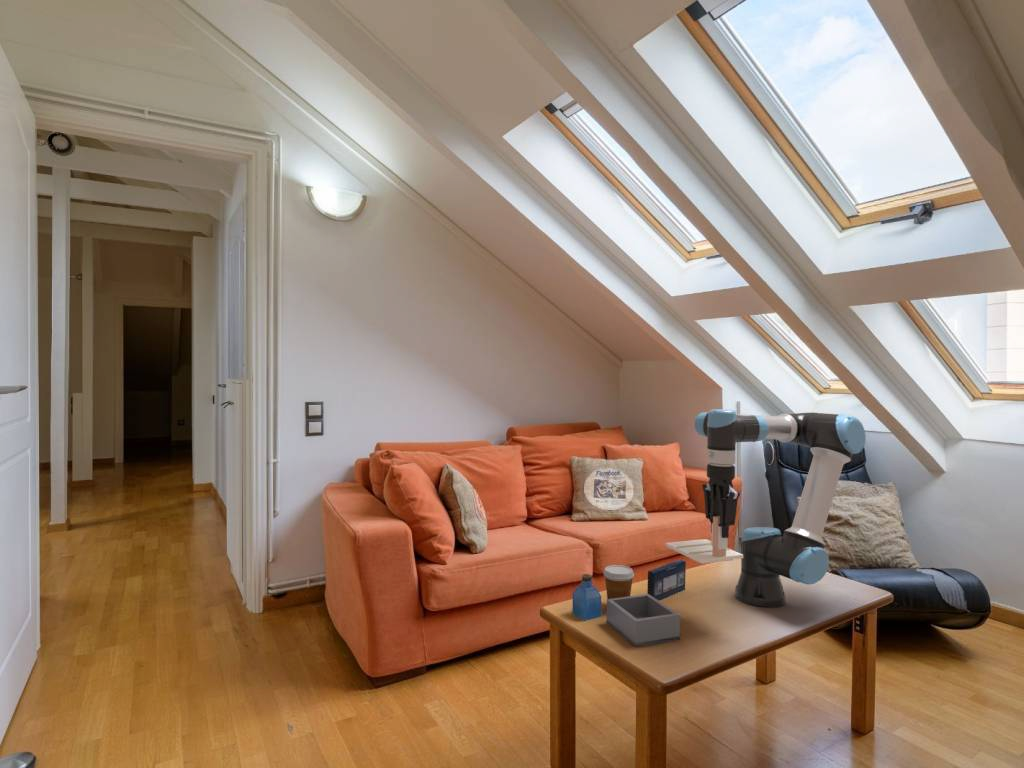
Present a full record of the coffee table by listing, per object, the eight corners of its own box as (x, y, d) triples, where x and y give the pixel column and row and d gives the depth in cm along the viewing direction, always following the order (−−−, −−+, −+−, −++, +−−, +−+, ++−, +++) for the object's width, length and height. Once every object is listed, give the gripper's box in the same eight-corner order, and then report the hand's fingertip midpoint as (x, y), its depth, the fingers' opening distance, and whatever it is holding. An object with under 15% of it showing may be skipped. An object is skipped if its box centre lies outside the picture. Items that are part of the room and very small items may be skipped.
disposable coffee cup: (596, 607, 183) (597, 569, 183) (614, 599, 190) (615, 562, 190) (622, 616, 177) (622, 577, 176) (639, 607, 183) (640, 569, 183)
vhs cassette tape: (653, 603, 187) (653, 572, 187) (645, 600, 189) (646, 570, 189) (686, 590, 198) (687, 561, 198) (679, 588, 201) (679, 559, 201)
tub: (647, 616, 177) (648, 593, 176) (679, 639, 161) (679, 614, 161) (606, 622, 172) (606, 599, 172) (635, 647, 157) (635, 621, 157)
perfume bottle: (572, 613, 179) (572, 574, 178) (588, 609, 182) (588, 571, 182) (584, 621, 173) (585, 580, 173) (601, 616, 176) (601, 577, 176)
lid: (705, 545, 182) (706, 503, 182) (743, 561, 166) (744, 516, 166) (665, 549, 177) (666, 506, 177) (700, 566, 162) (701, 519, 161)
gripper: (693, 460, 171) (691, 541, 171) (728, 469, 156) (726, 556, 157) (714, 459, 173) (712, 538, 173) (750, 467, 159) (749, 554, 159)
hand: (719, 547), depth 165 cm, fingers closed on lid, 2 cm apart
